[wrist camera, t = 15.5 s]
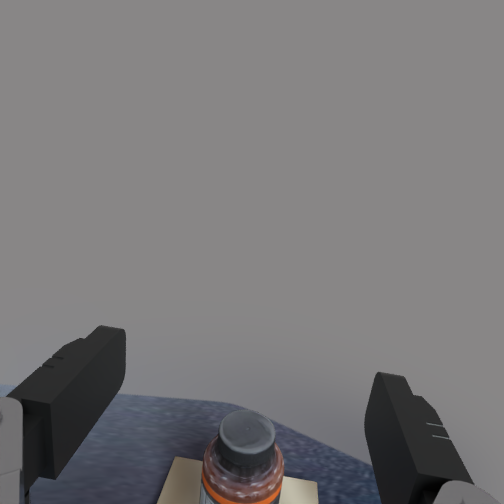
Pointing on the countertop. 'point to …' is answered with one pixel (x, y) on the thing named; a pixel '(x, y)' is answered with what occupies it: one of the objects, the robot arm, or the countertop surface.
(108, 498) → the countertop surface
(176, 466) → the pin board
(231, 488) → the supplement bottle
